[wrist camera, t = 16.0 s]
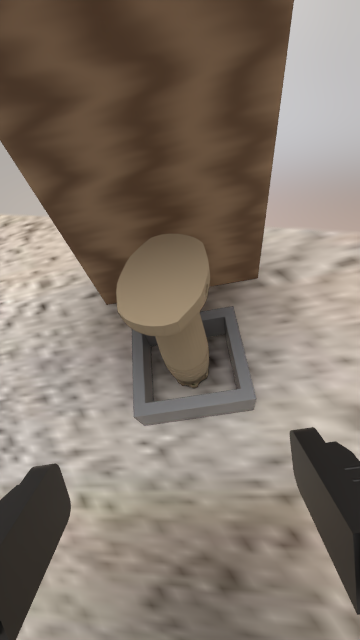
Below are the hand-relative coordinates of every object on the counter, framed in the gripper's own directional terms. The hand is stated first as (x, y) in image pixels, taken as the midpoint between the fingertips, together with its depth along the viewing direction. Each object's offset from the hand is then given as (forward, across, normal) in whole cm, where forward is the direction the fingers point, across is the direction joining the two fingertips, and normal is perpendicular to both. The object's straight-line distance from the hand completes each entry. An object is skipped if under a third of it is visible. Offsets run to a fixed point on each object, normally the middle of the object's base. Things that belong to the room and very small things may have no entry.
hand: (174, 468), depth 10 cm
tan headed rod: (+18, 0, +5) cm, 19 cm away
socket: (+18, 0, +4) cm, 19 cm away
